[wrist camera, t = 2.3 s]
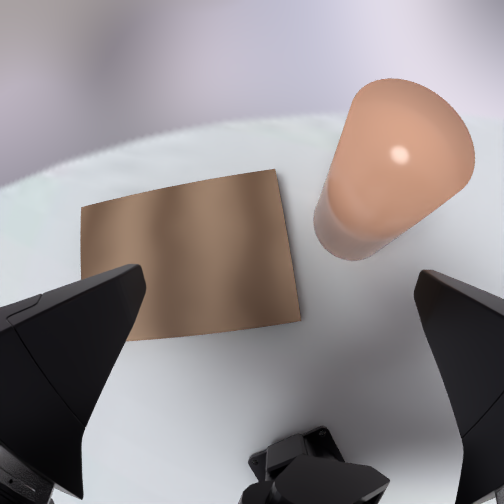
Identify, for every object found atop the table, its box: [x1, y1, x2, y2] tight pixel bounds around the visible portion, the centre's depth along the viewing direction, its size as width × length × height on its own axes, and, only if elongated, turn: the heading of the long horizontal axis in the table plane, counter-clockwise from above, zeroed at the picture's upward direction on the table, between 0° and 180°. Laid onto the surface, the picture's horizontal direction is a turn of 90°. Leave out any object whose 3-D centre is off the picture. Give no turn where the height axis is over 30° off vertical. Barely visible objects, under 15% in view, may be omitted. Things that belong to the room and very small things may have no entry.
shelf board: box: [81, 169, 301, 341], centre depth 23 cm, size 16×11×2 cm
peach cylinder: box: [313, 79, 475, 261], centre depth 18 cm, size 6×6×13 cm
